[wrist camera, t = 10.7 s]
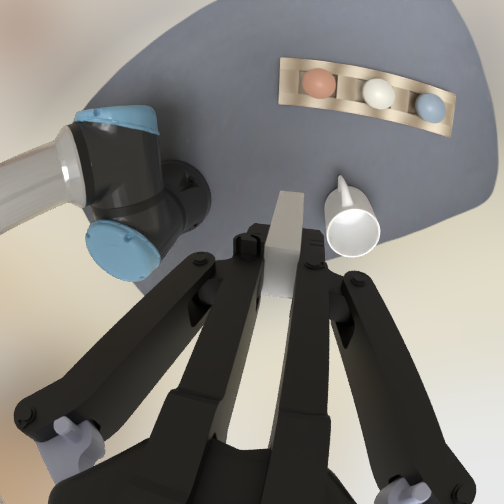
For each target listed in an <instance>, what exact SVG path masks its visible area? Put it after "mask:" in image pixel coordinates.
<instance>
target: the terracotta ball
mask: <svg viewBox="0 0 504 504" xmlns="http://www.w3.org/2000/svg"><path fill="white" fill-rule="evenodd" d="M302 84H303V88H304V90H305V92H306V93H307V94H308V95H309V96H311V97H313V98H316V99H325V98H327V97H329V96H331V95H332V94H333V92H334V91H335V88H336V82H335V79H334V77H333V75H332V74H331V73H330V72H328V71H327V70H325V69H321V68H314V69H311V70H309V71H308V72H307V73H306V74H305V75H304V77H303V80H302Z"/></svg>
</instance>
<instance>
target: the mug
mask: <svg viewBox="0 0 504 504" xmlns="http://www.w3.org/2000/svg"><path fill="white" fill-rule="evenodd" d="M324 211H325V223H326V235H327V240H328V243H329V245H330V247H331V248H332V249H333V250H334V251H335V252H336V253H338V254H340V255H342V256H346V257H359V256H362V255H364V254H367V253H368V252H369V251H371V250H372V249H373V248H374V247H375V245H376V244H377V242H378V240H379V237H380V226H379V223H378V221H377V218H376V216H375V214H374V212H373V209H372V207H371V205H370V203H369V201H368V199H367V197H366V196H365V194H364V193H363V192H362V191H360V190H359V189H357V188H355V187H351V186H347V184H346V182H345V180H344V178H343V177H342V176H341V175H339V177H338V188H337V189H335V190H334V191H332V192H331V193H330V194H329V196H328V197H327V199H326V202H325V207H324Z"/></svg>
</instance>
